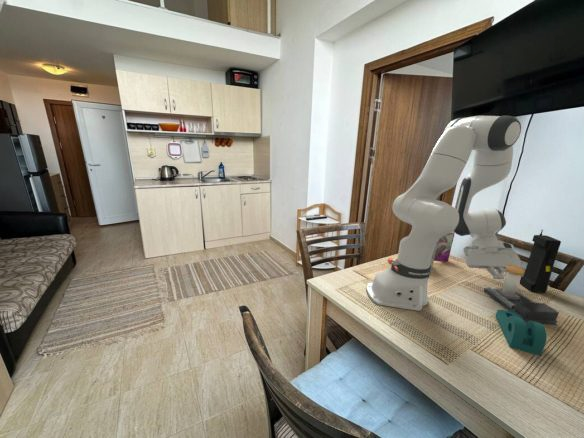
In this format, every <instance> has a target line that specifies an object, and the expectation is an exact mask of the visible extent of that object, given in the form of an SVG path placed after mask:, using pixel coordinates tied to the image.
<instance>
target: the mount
mask: <svg viewBox="0 0 584 438" xmlns="http://www.w3.org/2000/svg"><path fill="white" fill-rule="evenodd" d="M496 289H497V288H492V287H491V286H487V287H485V288H484V289H483V293H484V294H486V295H488V296H489V297H490V298H492V299H493V300H494V301H495V302H497V303H498V304H499V305H501V306H502V307H503V309H505V310H508V311H511V312H513V313H516V314H518V315H519V316H521V317H522V318H523V320H524V321H525V323H527V322H528V321H533V322H538V323H541V324H543V325H550V326H551V325H552V326H553V325H554V326H556V325H557V323H558V320H557V319H558V316H559V314H560V313H559V312H558V310H555V309H554V308H552V307H551V306H549V305H548V304H546V303H545V302H543V303H542V302H534V301H533V300H531V299H530V298H528V297H527V296H525V294H524V295H523V294H522V293H520V292H519V291H517V290H516V294H517V295H518V296H520V300H514V299H506V298H505V297H503V296H502V295H500V294H499V293H498V292H496Z"/></svg>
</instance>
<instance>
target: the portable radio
mask: <svg viewBox="0 0 584 438" xmlns="http://www.w3.org/2000/svg"><path fill="white" fill-rule="evenodd" d="M543 231H544V229H541V232H540V233H539V234H534V235H533V237H532V242H533V244H532V249H531V251H530V254H529V257H528V261H527V263H526V267H525V272H524V275H522V276H521V277H520V281H519V285H521V286H522V287H523V288H524V289H526V290H527V291H530V292H535V293H542V294H543V293H544V294H546V292H547V291H548V287H549V284H550V283H549V282H550V279H551V276H552V272H553V270H554V269H553V267H554V264H555V262H556V259H557V256H558V254H559V253H558V252H559V249H560V246H561V243H562V241H561V240H559V239H556V238H554V237H552V236H549V235H543Z"/></svg>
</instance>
